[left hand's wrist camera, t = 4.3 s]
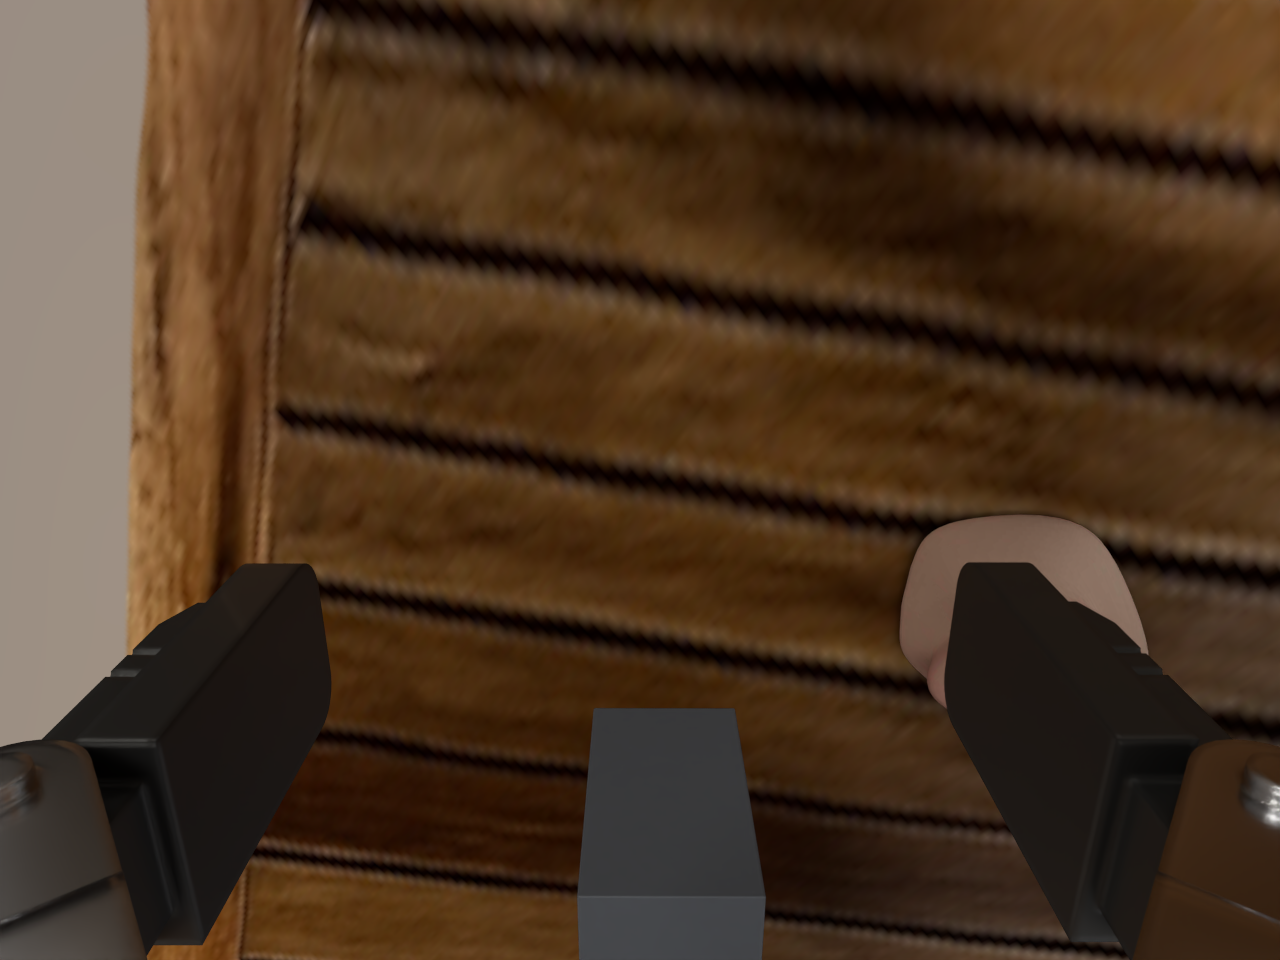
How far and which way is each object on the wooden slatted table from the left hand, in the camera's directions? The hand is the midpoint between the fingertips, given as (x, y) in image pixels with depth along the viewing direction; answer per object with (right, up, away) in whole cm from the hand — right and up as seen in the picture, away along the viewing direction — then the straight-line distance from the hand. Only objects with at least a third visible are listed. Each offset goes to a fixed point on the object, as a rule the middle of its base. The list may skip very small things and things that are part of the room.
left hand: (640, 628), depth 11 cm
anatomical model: (+19, -5, +33) cm, 38 cm away
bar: (+1, -19, +28) cm, 33 cm away
